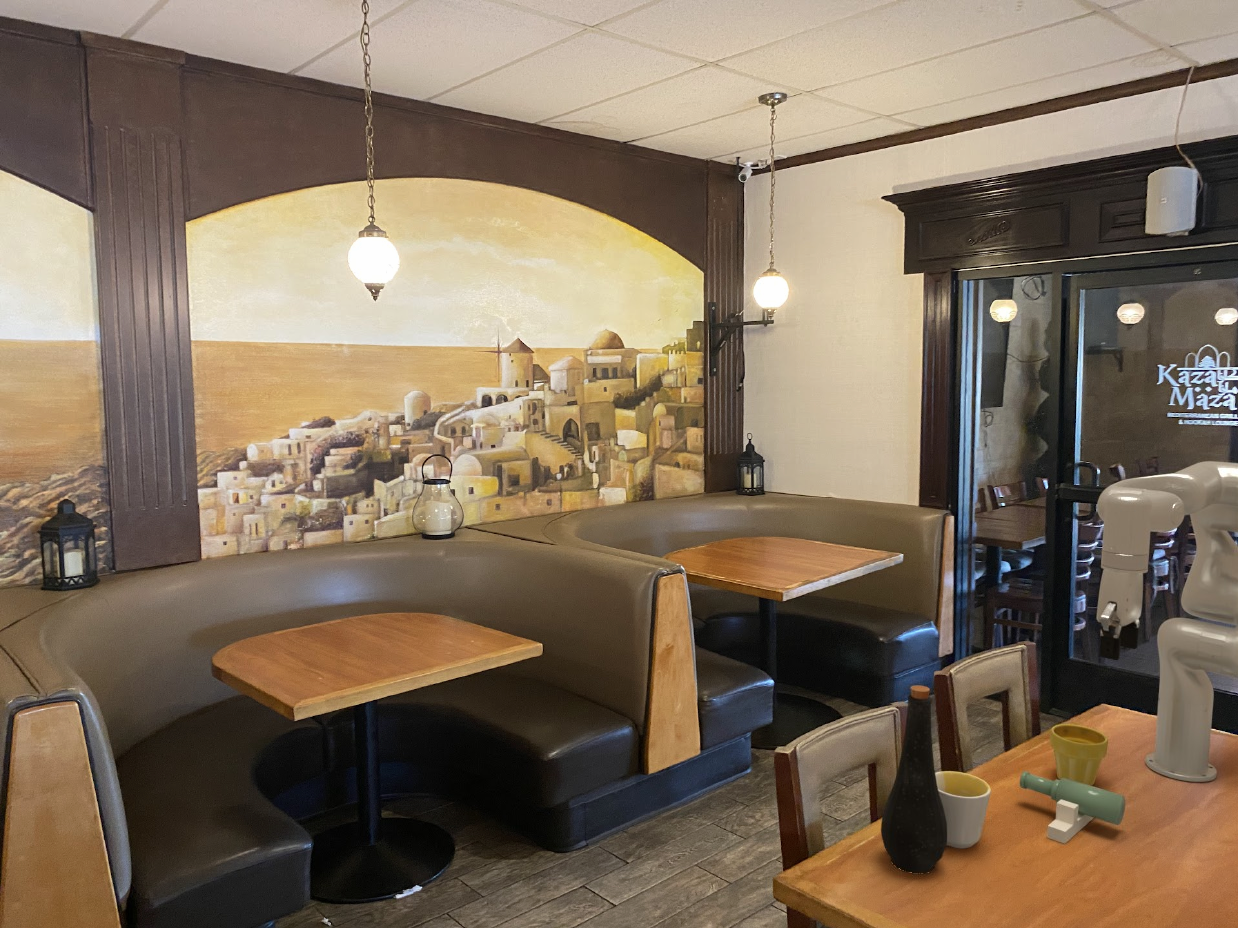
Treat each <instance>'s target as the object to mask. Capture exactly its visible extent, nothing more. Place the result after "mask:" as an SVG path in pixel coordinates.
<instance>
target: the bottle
mask: <svg viewBox="0 0 1238 928" xmlns="http://www.w3.org/2000/svg"><path fill="white" fill-rule="evenodd" d="M930 690H931V689H930V688H929V687H928V686H926V685H918V684H917V685H912V686H910V694H908V695H907V698H906V699H907V709H906V721H905V728H904V730H905V731H904V736H903V741H902V747H901V748H902V749H901V752H900V753H901V755H900V760H899V764H898V767H897V771H896V775H895V779H894V782H893V785H892V788H891V790H890V792H889V794H888V796H887V799H886V801H885V805H884V807H883V808H884V809H883V812H882V817H881V824H880V834H881V840H882V843H883V847H884V850H885V851H886V853H887V854H888V856H889V858H890V863H891V862H892V863H893V864H892V863H891V864H892V865H893V866H894V865H895V866H896V867H897V868H896V867H895V866H894V867H895V868H896V869H898V868H900V869H901V870H900V869H899V870H900V871H902V870H904V871H903V872H905V871H906V872H905V873H908V872H912V873H911V874H913V873H918V874H917V875H922V874H921V873H926V874H929V873H931V871H932V870H933V869H934V868H935V867H936V865H937V864H938V862H939V861H940V860H941V859H942V858H943V856H944V853H945V850H946V847H947V845H946V844H947V821H946V816H945V811H944V808H943V804H942V801H941V798H940V795H939V791H938V787H937V781H936V775H935V773H936V770H935V762H934V761H935V759H934V750H933V737H932V736H933V735H932V703H933V698H932V697H931V696H929V695H930ZM934 870H935V869H934ZM934 870H933V871H934ZM933 871H932V872H933ZM928 872H929V873H928ZM919 873H920V874H919Z"/></svg>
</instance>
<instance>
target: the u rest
mask: <svg viewBox="0 0 1238 928" xmlns="http://www.w3.org/2000/svg"><path fill="white" fill-rule="evenodd" d="M1078 807H1079V805H1077V804H1074V803H1071V802H1068V801H1065V800H1062V799H1061V800H1060V801H1058V802H1057V803H1056V811H1055V819H1054V820H1053V821H1051V823H1049V824H1048V825H1047V832H1046V838H1048V839H1049V840H1053V841H1055V842H1058V843H1061V844H1063V845H1065V844H1067V842H1069V841H1070V840H1071V839H1072V838H1073V837H1074V836H1075V835H1076V834H1077V833H1078V832H1080V831H1081V830H1082V829H1083V828H1084V827H1085V826H1086V825H1088V824H1089V823H1090V821H1092V820H1093V819H1094V817H1091V816H1088V815H1085V814H1082V813H1078Z"/></svg>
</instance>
